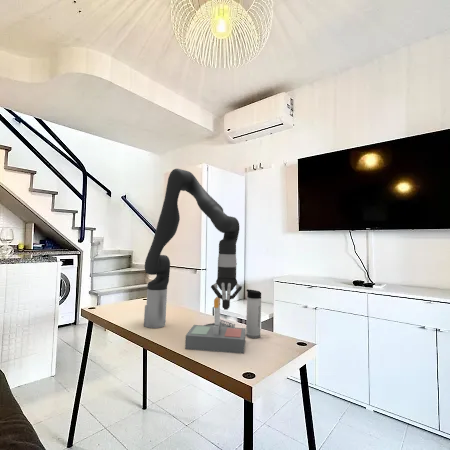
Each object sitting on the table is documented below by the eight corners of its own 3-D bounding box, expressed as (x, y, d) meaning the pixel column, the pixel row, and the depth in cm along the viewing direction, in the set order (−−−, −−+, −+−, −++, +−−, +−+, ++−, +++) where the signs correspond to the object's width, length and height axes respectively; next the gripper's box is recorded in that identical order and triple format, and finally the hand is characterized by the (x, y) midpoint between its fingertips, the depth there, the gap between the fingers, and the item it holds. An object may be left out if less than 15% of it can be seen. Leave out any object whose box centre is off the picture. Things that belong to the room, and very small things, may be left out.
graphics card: (219, 318, 139) (235, 323, 130) (219, 326, 139) (235, 331, 130) (190, 324, 129) (205, 330, 120) (190, 332, 129) (205, 339, 119)
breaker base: (185, 348, 106) (186, 327, 106) (193, 336, 120) (194, 317, 120) (243, 353, 103) (244, 331, 104) (245, 340, 117) (245, 320, 118)
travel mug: (244, 333, 126) (245, 288, 127) (258, 333, 127) (259, 288, 128) (246, 338, 120) (247, 290, 121) (261, 338, 121) (262, 291, 122)
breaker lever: (214, 328, 109) (214, 299, 110) (216, 324, 115) (216, 296, 116) (218, 328, 109) (218, 299, 110) (220, 324, 115) (220, 297, 116)
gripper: (209, 265, 110) (208, 310, 109) (243, 266, 109) (242, 312, 108) (212, 264, 118) (211, 306, 117) (243, 265, 116) (243, 307, 115)
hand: (226, 309), depth 112 cm, fingers closed
